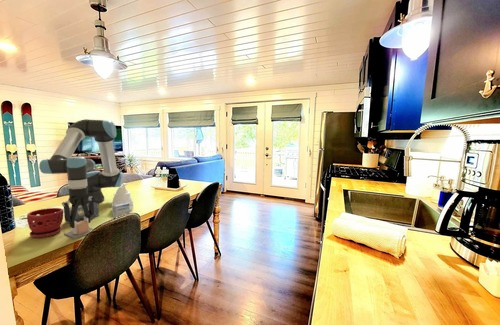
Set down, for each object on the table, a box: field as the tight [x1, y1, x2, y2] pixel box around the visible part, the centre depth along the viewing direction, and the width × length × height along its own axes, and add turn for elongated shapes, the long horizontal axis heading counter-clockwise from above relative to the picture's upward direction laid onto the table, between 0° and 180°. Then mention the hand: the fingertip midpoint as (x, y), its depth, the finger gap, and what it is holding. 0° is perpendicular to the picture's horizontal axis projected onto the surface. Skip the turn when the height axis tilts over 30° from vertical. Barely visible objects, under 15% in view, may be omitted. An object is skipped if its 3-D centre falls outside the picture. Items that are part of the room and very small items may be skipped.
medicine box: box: [112, 203, 131, 218], centre depth 130 cm, size 8×4×9 cm, turn 148°
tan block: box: [77, 220, 90, 234], centre depth 108 cm, size 4×4×5 cm
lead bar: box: [78, 211, 93, 221], centre depth 127 cm, size 4×10×3 cm, turn 59°
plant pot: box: [26, 207, 64, 239], centre depth 107 cm, size 13×13×12 cm
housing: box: [65, 202, 99, 224], centre depth 127 cm, size 15×5×8 cm, turn 155°
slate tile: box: [63, 226, 94, 240], centre depth 109 cm, size 10×10×1 cm
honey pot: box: [111, 182, 134, 213], centre depth 144 cm, size 13×13×18 cm
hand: (81, 231), depth 109 cm, fingers closed on tan block, 4 cm apart
